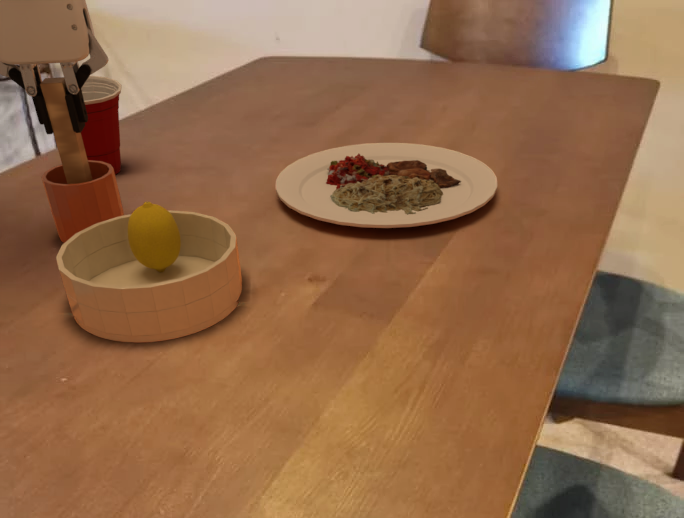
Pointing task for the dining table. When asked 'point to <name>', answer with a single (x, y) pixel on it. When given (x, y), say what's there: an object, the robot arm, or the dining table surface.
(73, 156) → the wooden stirring stick
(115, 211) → the crock
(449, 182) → the plated food
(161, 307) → the bowl
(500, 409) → the dining table surface
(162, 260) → the lemon
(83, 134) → the plastic cup
